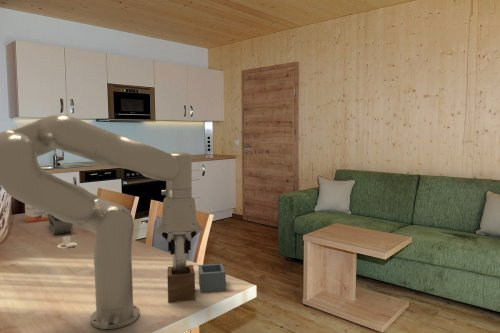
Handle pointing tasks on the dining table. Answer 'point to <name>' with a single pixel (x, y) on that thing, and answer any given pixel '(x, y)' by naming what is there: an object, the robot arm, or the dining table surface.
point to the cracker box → (34, 214)
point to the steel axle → (179, 253)
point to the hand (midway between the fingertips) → (179, 252)
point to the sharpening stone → (58, 225)
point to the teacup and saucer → (67, 242)
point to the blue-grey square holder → (212, 277)
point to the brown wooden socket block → (181, 285)
